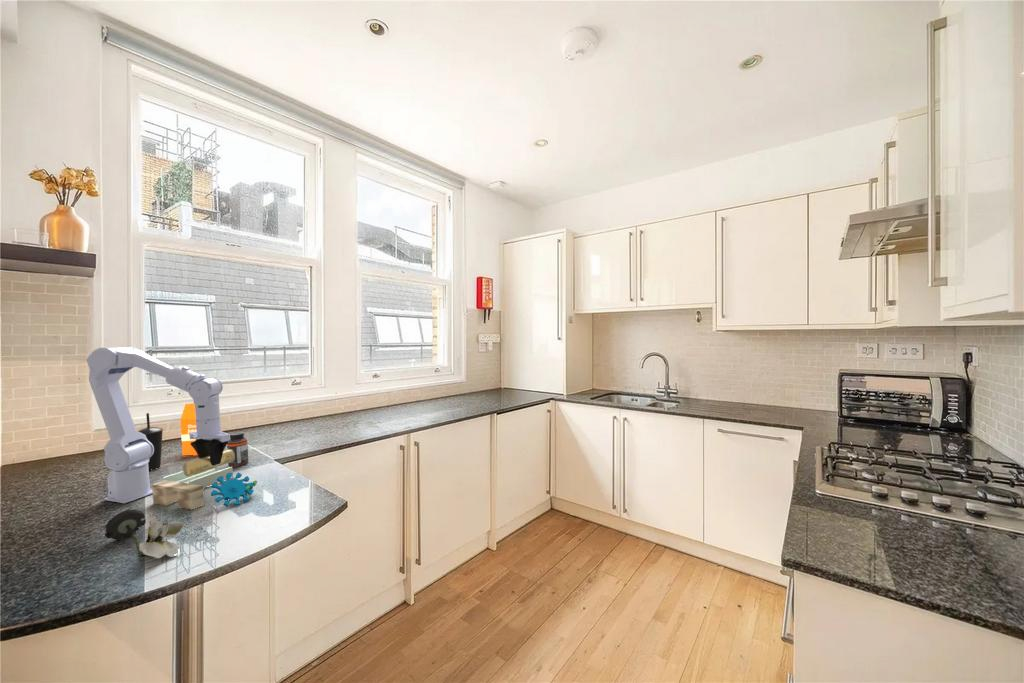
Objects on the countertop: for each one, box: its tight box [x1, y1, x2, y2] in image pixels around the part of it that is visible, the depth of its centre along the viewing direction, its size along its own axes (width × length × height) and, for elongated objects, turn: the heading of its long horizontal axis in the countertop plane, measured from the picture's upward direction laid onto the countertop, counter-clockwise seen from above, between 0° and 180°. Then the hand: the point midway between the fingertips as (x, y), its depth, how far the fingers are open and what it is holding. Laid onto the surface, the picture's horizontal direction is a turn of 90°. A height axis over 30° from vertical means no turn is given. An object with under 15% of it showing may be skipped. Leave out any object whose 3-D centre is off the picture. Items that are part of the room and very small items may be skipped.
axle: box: [182, 449, 235, 477], centre depth 114 cm, size 12×4×4 cm, turn 161°
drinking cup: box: [137, 412, 164, 470], centre depth 134 cm, size 8×8×20 cm
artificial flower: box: [104, 509, 187, 559], centre depth 83 cm, size 9×22×10 cm, turn 57°
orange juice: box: [180, 402, 198, 456], centre depth 152 cm, size 8×9×20 cm
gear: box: [210, 472, 258, 507], centre depth 106 cm, size 11×6×10 cm
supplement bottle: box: [226, 431, 249, 468], centre depth 136 cm, size 6×6×11 cm
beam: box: [151, 480, 205, 511], centre depth 105 cm, size 16×3×5 cm, turn 71°
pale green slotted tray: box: [162, 466, 234, 489], centre depth 119 cm, size 13×12×4 cm
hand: (210, 463), depth 114 cm, fingers closed on axle, 4 cm apart
